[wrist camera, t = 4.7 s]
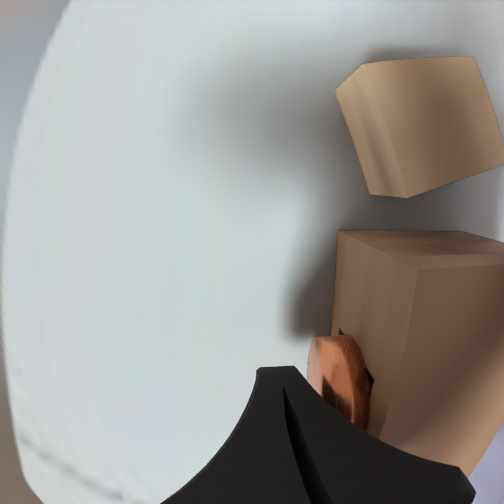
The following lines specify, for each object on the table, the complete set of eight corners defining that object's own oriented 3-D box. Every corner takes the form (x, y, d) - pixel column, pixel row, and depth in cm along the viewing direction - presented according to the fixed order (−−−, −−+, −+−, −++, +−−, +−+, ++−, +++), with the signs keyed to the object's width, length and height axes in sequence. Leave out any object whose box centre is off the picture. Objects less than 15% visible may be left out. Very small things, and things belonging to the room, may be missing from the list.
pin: (521, 291, 11) (572, 317, 7) (502, 358, 12) (544, 391, 8) (311, 317, 11) (343, 382, 7) (303, 402, 11) (323, 475, 7)
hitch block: (462, 231, 11) (556, 259, 5) (420, 416, 13) (465, 481, 7) (337, 230, 11) (417, 269, 5) (316, 437, 13) (341, 523, 7)
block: (431, 77, 10) (472, 56, 7) (460, 164, 10) (507, 163, 7) (332, 92, 10) (361, 64, 7) (367, 194, 11) (407, 198, 8)
